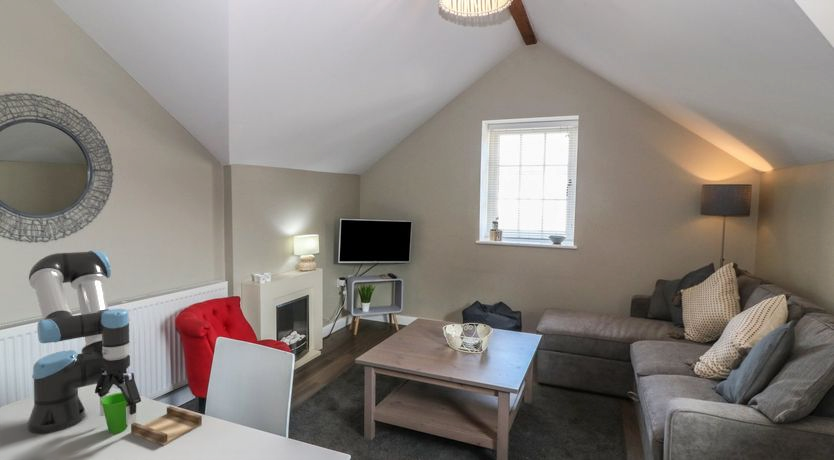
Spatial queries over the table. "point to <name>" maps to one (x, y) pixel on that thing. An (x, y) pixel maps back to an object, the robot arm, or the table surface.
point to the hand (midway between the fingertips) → (118, 418)
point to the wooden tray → (168, 426)
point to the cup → (115, 412)
